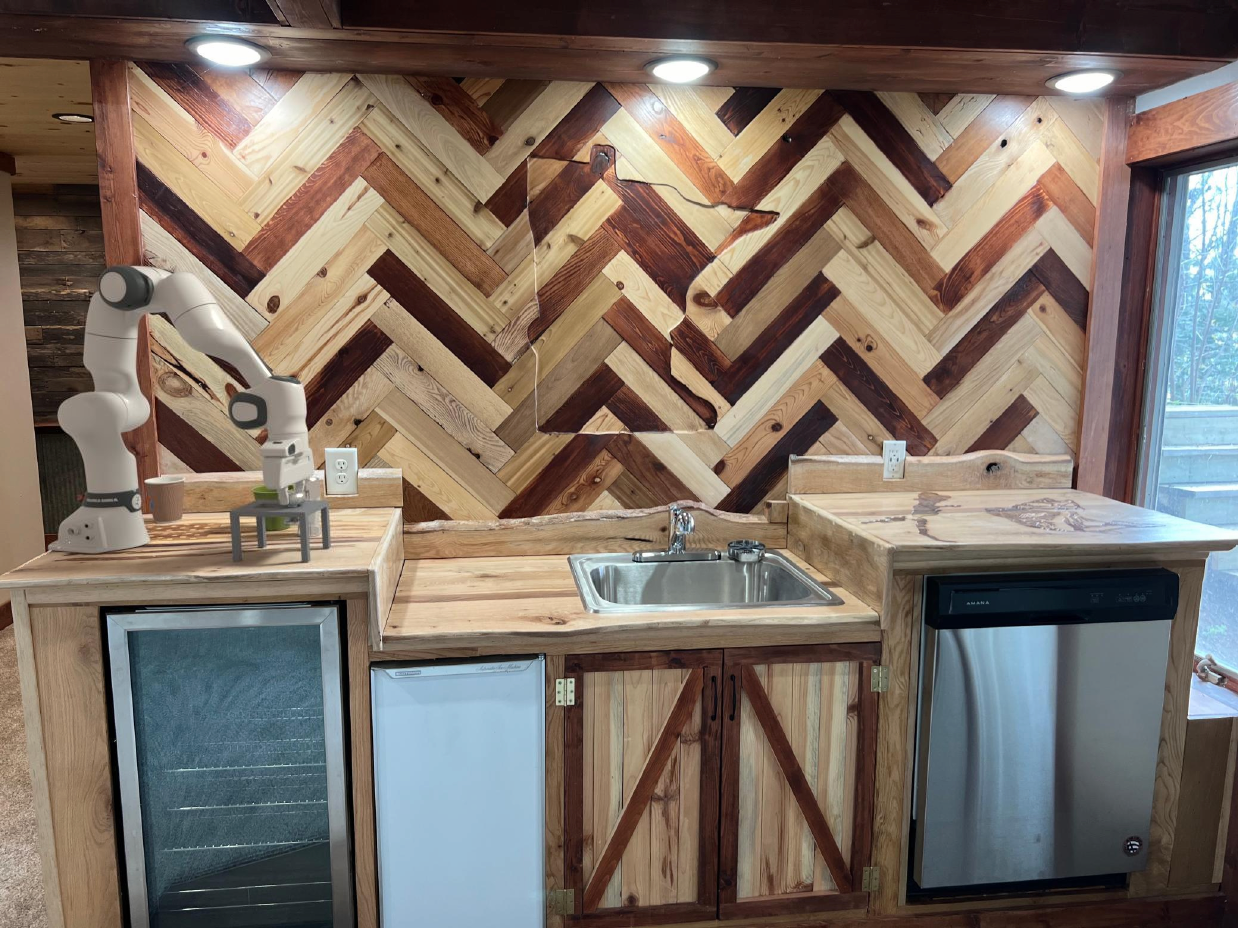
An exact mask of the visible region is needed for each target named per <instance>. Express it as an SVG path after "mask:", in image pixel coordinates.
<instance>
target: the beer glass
mask: <svg viewBox="0 0 1238 928" xmlns="http://www.w3.org/2000/svg"><path fill="white" fill-rule="evenodd" d="M292 485H293V491H295V485H296V484H295V483H294V484H292ZM303 491H305V499H306V500H322V490H321V483H320V478H319V477H316V476H315V477H314V476H311V477H309V478H306V479H305V486H304V490H303ZM320 514H321V510H319V511H317V512H315V513H313V514H311V515H309V516H308V524H309V538H313V536H314V537H317V536H320V535H322V528H321V526H320ZM296 535H297V537H299V536H300V525H297V533H296Z"/></svg>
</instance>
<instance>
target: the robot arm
mask: <svg viewBox="0 0 1238 928" xmlns="http://www.w3.org/2000/svg"><path fill="white" fill-rule="evenodd" d="M97 289H98V291H96V292H95V293H94V294H93V295H92V297H91V299H90V303H89V306H88V311H87V315H86V321H85V322H86V323H85V328H84V329H85V330H84V342H83V345H84V346H83V361H82V362H83V365H84V367H85V368H86V369H87V371H89V372H90V374H91V376H92V379H93V380H92V381H93V383H94V391H89V392H81V393H79V394H76V395H73V396H72V397H70V398H67V399H65V400H64V401H63V402H61V403H60V406H59V407H58V411H57V419H58V420H57V421H58V424H59V426H60V428H61V429H62V430H63V431H64V432H65V433H66V434H68V435H69V436H70V437H71V438H72V439H73V441H74V442H75V443H76V445H77V448H78V449H79V452H80V454H81V457H82V460H83V465H84V470H85V471H84V473H85V478H86V479H85V481H86V488H87V490H86V491H85V492H84V493H82V494H78V495H76V497H78V498H77V501H80V500H82V502H81V506H80V507H79V508H78V509H77V510H76V511H74V512H73V513H71V515H68V517H66V518H65V519H64V520H62V522H61V523H60V524H59V527H58V534H57V537H58V538H57V540H55V541H53V542H51V543H50V544H48V546H47V550H48V551H58V552H70V553H71V552H72V553H83V554H84V553H85V554H100V553H105V552H112V551H118V550H124V549H125V550H126V549H130V548H135V547H141V546H143V545H146V544H148V543H150V542H151V537H150V536H149V533H148V530H147V527H146V525H145V520H144V517H143V511H142V505H143V503H142V500H143V498H142V491H141V487H140V486H139V479H138V478H139V477H138V467H137V459H136V456H135V455H134V454H133V453H132V452H130V451H129V450H128V448H127V447H126V445H125V442H124V441H123V437H122V433H126V432H131V431H133V430H134V429H137V428H139V427H141V426H143V424H145V423H146V422H147V421H148V420H149V417H150V413H151V408H150V403H149V401H148V399H147V398H146V396H144V395H143V393H142V391H141V387H140V384H139V380H138V374H137V352H138V337H139V336H138V335H139V334H138V333H139V324H140V321H141V319H142V317H143V316H145V315H146V314H149V315H151V316H158V315H162V314H166V315H167V316H168V317H169V319H170V320H171V323H172V324H173V326H174V328H175V329H176V331H177V333H178V335H179V336H180V337H181V339H182V340H183V341H184V342H185V343H186V344H187V345H188V346H189V347H190V348H191V349H192V350H195V351H196V352H199V353H202V354H205V355H207V356H208V355H209V356H212V357H216V358H219V359H221V360H223V361H225V362H227V363H229V364H231V365H232V366H233V367H235V368H236V369H237V371H238V372H239V373H240V374H241V376H242V377H243V378H244V379H245V381H246V382H247V383H248V385H249V386H250V388H248V389H244V390H242V391H241V390H240V391H238V392H236V393H234V394H233V395H232V396H231V397H230V399H229V402H228V405H227V412H228V413H227V414H228V417H229V419H230V420H231V422H232V424H233V425H234V426H235V427H236V428H238V429H240V430H244V431H256V430H264V429H267V438H266V440H265V442H264V443H263V444H262V445H261V446H260V448H259V454H260V455H259V456H260V457H263V458H262V462H261V469H262V476H263V478H262V479H263V486H264V485H265V486H266V488H267V489H277V493H278V495H279V497H280V503H281V505H287V504H289V503H290V496H288V493H287V490H288V486H289V485H293V484H294V483H295V484H296V485H295V491H303V490H304V486H305V479H306V478H309V477H314V474H315V465H314V464H315V461H314V455H313V450H312V448H310V447H309V446H310V445H309V431H308V427H307V423H306V418H307V413H308V412H307V411H308V410H307V401H306V394H305V388H304V385H303V383H302V381H300V379H298V378H296V377H293V376H288V375H277V374H276V375H275V374H274V373H273V372H272V370H271V369H270V367H269V366H268V364H266V362H265V361H264V359H263V358H262V356H261V355H260V354H259V352H257V350H256V349H255V348H254V346H253V345H252V344H251V342H250V341H248V339H247V338H246V337H245V336H244V335H243V334H242V333H241V332H240V331H239V330H238V329H237V328H236V327H235V326H234V325H233V323H232V322H231V321H230V319H229V318H228V317H227V315H226V314H225V313H224V311H223V309H222V308H221V307H220V305H219V304H218V302H217V300H216V299H215V297H214V296H213V294H212V293H211V292H210V291H209V289H208V288H207V287H206V286H205V284H204V283H203V282H202V281H201V279H199V278H198V277H197V276H196V275H195V274H193V273H192V272H189V271H177V272H174V271H172V270H169V269H165V268H163V269H162V268H158V267H153V266H147V265H141V266H140V265H127V264H118V265H117V264H116V265H112V266H110V267H107V268H106V269H105V270H103V271H102V272H101V274H100V275H99V278H98V281H97ZM69 542H70V543H69ZM58 547H60V548H59V549H58Z"/></svg>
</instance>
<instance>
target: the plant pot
mask: <svg viewBox="0 0 1238 928" xmlns="http://www.w3.org/2000/svg"><path fill="white" fill-rule="evenodd" d="M250 491H251V492H252V493H253V497H254V499H255V500H254V501H256V500H279V495H278V493H277V489H267V488H266V486H265V485H264V484H263V485H259V486H254V487H252V488H251V489H250ZM287 491H293V484H292V485H289V486H288V490H287ZM285 518H289V517H265V528H266V531H268V530H271V531H275V530H277V531H283V529H284V530H287V528H288V529H289V528H291V526H286V525H284V519H285Z"/></svg>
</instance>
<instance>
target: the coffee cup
mask: <svg viewBox="0 0 1238 928" xmlns="http://www.w3.org/2000/svg"><path fill="white" fill-rule="evenodd" d="M185 480H186V478H185V477H184V476H161V477H159V476H158V477H153V478H148V479H145V480H144V484H145V487H146V492H147V496H148V497H147V498H148V501H149V505H150V510H151V513H152V518H153V520H154V521H153V522H154V523H155V522H157V523H156V524H172V523H171V522H174V523H178V522H181V521H182V520H183V515H184V514H183V512H184V511H183V509H184V496H185V495H184V492H185ZM180 520H181V521H180ZM177 521H178V522H177Z"/></svg>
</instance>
